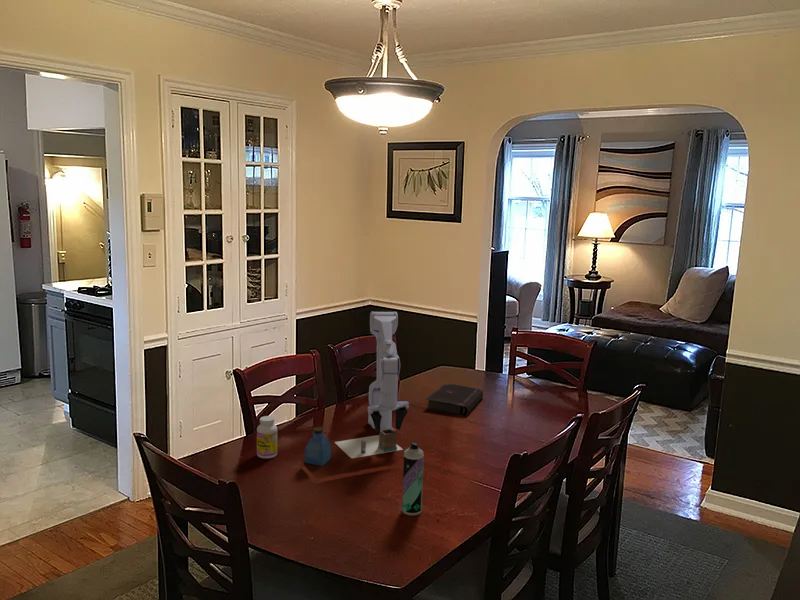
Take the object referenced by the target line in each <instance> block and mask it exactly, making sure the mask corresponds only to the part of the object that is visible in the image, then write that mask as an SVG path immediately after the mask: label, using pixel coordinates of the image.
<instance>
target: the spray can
mask: <svg viewBox="0 0 800 600" xmlns="http://www.w3.org/2000/svg"><path fill="white" fill-rule="evenodd" d="M403 452H404V453H403V467H402V468H403V469H402V470H403V471H402V474H403V475H402V499H401V500H402V502H401V512H402V513H403V514H405V515H407V516H418V515H420V514H421V513H422V510H423V509H422V506H423V486H424V485H423V483H424V482H423V481H424V478H423V477H424V462H425V461H424V458H425V457H424V456H425V455H424V450H422V449H421V448H420V447H419V446H418V442H411V444H410V446H409V447H408V448H406V449H405V450H404V451H403Z"/></svg>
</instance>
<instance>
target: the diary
mask: <svg viewBox="0 0 800 600" xmlns="http://www.w3.org/2000/svg"><path fill="white" fill-rule="evenodd" d="M483 398H484V389H483V388H477V387H472V386H467V385H463V384H457V383H455V384H454V383H443V384H442V385H441V386H439V388H438V389H436V390H435V391H434V392H432V393H430V395H428V396H427V397H426V398H425V400H426V401H427V402H428V404H427V407H426V408H425V410H426V411H431V412H432V411H433V412H437V413H445V414H447V413H449V414H457V415H461V416H462V415H464V414H465V413H466V415H465V417H467V416H468V415H469V414H470V413H471V411H472V410H473V409H475V407H476V406H477V405H478V403H479V402H480V401H481V400H482V399H483Z"/></svg>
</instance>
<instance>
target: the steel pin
mask: <svg viewBox="0 0 800 600" xmlns="http://www.w3.org/2000/svg"><path fill="white" fill-rule="evenodd" d="M361 453H366V441H365V440H362V441H361Z"/></svg>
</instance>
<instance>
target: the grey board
mask: <svg viewBox="0 0 800 600" xmlns="http://www.w3.org/2000/svg"><path fill="white" fill-rule="evenodd" d="M362 440H365V441H366V453H361V441H362ZM334 444H336V445H337V446H338V447H339V448H340V449H341V450H342V452H344V453H345V454H346V455H347V456H348V457H350V459H356V458H363V457H369V456H375V455H380V454H386V453H392V452H396V451H398V452H399V451H403V450H404V449H403V448H402V447H401V446H400V445H398V444H397V443H396V447H397V450H393V451H387V452H384V451H382V450H381V449H380V448H379V447H378V444H379V434H378V435H371V436H370V435H369V436H365V437H356V438H350V439H345V440H341V441H340V440H339V441H334Z"/></svg>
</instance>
